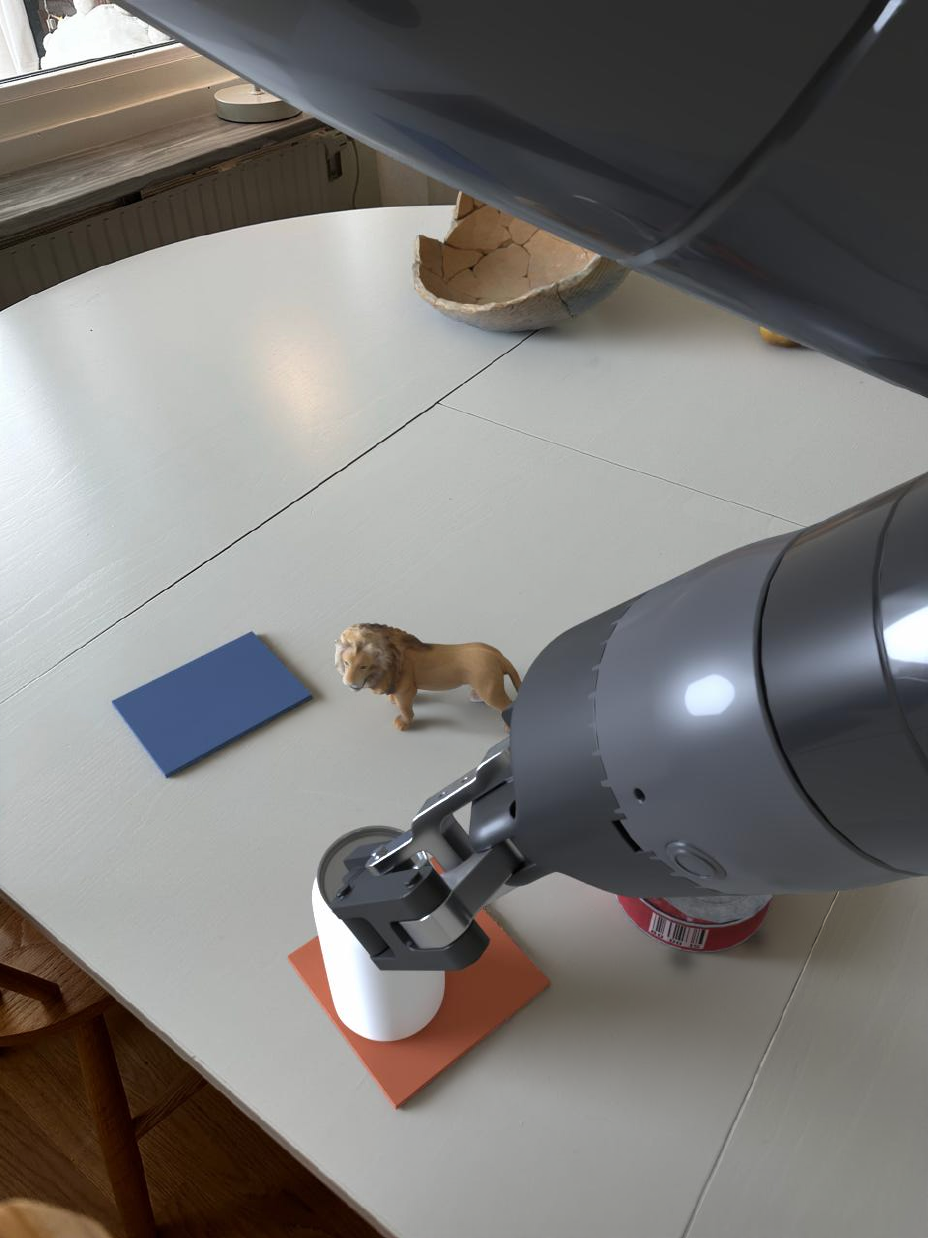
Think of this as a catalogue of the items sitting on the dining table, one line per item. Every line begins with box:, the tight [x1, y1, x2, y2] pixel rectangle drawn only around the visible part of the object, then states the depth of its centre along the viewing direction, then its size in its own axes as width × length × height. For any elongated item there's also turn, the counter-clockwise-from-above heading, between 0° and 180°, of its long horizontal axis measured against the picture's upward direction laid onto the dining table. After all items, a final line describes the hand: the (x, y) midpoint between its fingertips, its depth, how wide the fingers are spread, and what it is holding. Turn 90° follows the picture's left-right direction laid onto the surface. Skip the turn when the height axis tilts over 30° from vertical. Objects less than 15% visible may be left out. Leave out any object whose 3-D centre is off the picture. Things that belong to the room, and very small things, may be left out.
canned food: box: [614, 894, 774, 953], centre depth 60 cm, size 11×10×10 cm
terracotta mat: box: [286, 856, 551, 1110], centre depth 57 cm, size 11×11×1 cm
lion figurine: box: [334, 622, 522, 734], centre depth 69 cm, size 15×5×9 cm, turn 95°
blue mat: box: [111, 630, 313, 779], centre depth 73 cm, size 12×9×1 cm
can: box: [311, 824, 445, 1041], centre depth 52 cm, size 6×6×12 cm
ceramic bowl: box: [411, 190, 632, 333], centre depth 118 cm, size 30×27×15 cm
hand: (446, 799), depth 37 cm, fingers open, 8 cm apart
